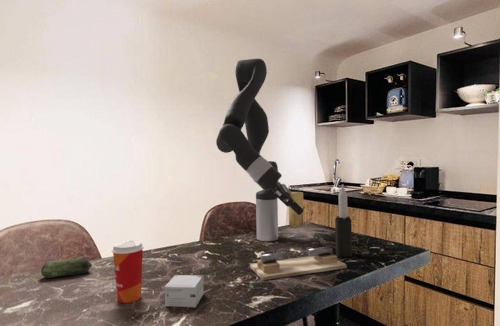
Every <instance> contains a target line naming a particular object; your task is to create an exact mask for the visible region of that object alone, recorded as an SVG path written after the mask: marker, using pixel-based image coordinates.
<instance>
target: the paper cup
mask: <svg viewBox="0 0 500 326" xmlns="http://www.w3.org/2000/svg"><path fill="white" fill-rule="evenodd" d="M144 248H145V247H144V245H143V243H142V241H140V240H135V241H134V240H129V241H128V240H125V241H120V242H117V243H115V244H113V246H112V249H111V252H112V254H113V265H114V276H115V277H114V278H115V286H116V296H117V301H118V303H121V304H130V303H134V302H137V301H138V300H140V299H141V297H142V285H143V284H142V282H143V281H142V279H143V276H142V275H143V249H144Z"/></svg>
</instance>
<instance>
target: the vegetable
mask: <svg viewBox="0 0 500 326" xmlns="http://www.w3.org/2000/svg"><path fill="white" fill-rule="evenodd" d="M92 266H93V264H92V263H91V262H90V260H89V258H86V257H79V258H73V259H61V260H50V261H47V262H45V263H44V264H43V265H42V267H41V275H42V277H44V278H46V279H52V278H59V277H65V276H66V277H67V276H72V275H73V276H74V275H82V274H86V273H88V272H89V271H90V269H91V267H92Z"/></svg>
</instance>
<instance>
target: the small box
mask: <svg viewBox="0 0 500 326" xmlns="http://www.w3.org/2000/svg"><path fill="white" fill-rule="evenodd" d="M203 295H204V275H191V274H189V275H188V274H186V275H185V274H183V275H180V274H175V275H174V276H173V277H172V278H171V279H170V280H169V282H168V283H166V285H165V286H164V306H165V307H178V308H180V307H182V308H183V307H184V308H197V305H198V304H199V302H200V300H201V299H202V297H203Z"/></svg>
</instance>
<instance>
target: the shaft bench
mask: <svg viewBox="0 0 500 326" xmlns="http://www.w3.org/2000/svg"><path fill="white" fill-rule="evenodd" d="M347 266H348V265H347V264H346V263H344V262H342V261H340V259H339V260H338V256H337V255H335V254H334V253H332V254H327V255H319V256H312V257H309V256H308V255H307V256H302V257H301V256H300V257H295V258H287V260H281V261H273V262H265V263H262V262H261V259H257V260H256V262H255V263H254V262H253V263H249V267H250V269H251V270H252V271H253V272H254V273H255V274H256V275H257V276H258V277H259V278H260V279H261V280H262V281H267V280H273V279H274V280H275V279H281V278H287V277H293V276H294V277H295V276H300V275H301V276H302V275H307V274H308V275H309V274H315V273H321V272H330V271H334V270H342V269H347V268H348V267H347Z"/></svg>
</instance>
